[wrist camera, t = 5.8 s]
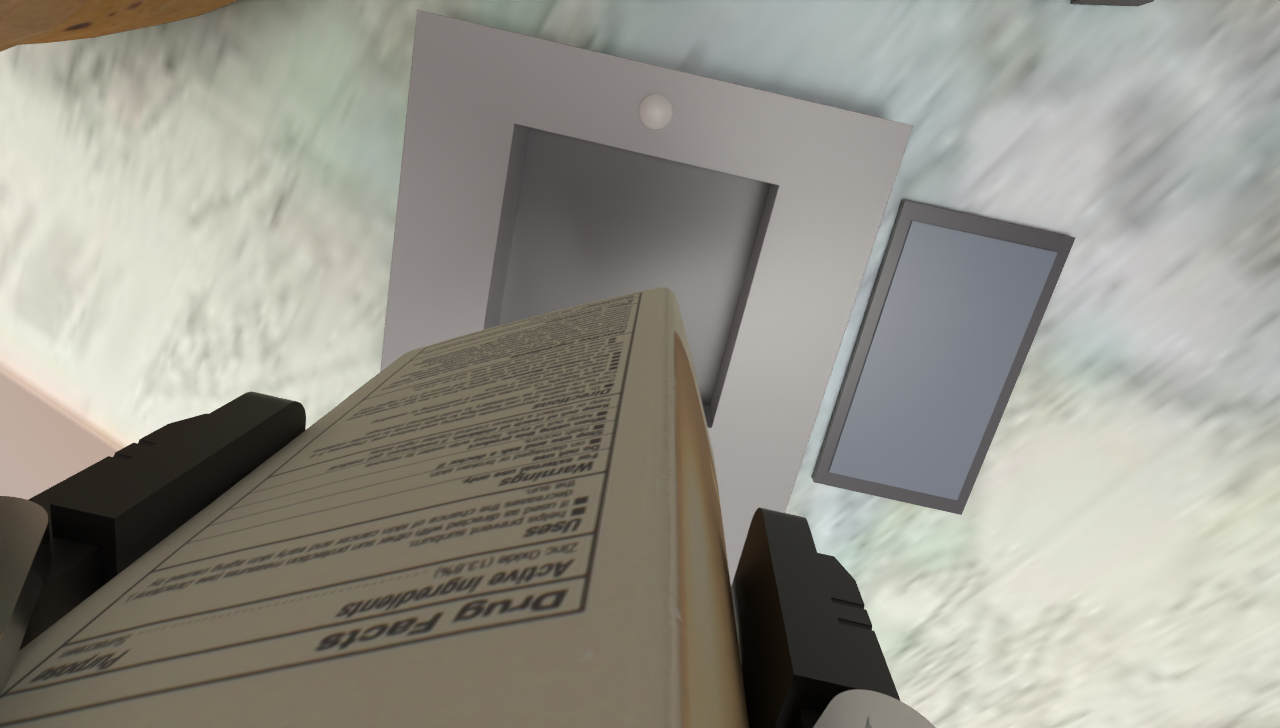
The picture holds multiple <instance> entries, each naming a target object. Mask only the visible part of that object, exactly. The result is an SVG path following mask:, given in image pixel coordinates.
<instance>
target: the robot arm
mask: <svg viewBox="0 0 1280 728" xmlns="http://www.w3.org/2000/svg"><path fill="white" fill-rule="evenodd" d="M305 426H306V414H305V409H304V407H303V405H302V404H301V403H299V402H296V401H291V400H287V399H282V398H278V397H274V396H269V395H265V394H260V393H256V392H248V393H245V394H243V395H242V396H240V397H238V398H236V399H234V400H233V401H231V402H229V403H227V404H226V405H224V406H222V407H220V408H219V409H217V410H215V411H213V412H211V413H210V414H203V415H199V416H196V417H192V418H188V419H185V420H181V421H177V422H174V423H170V424H167V425H166V426H164V427H162V428H160V429H158V430H156V431H154V432H153V433H151V434H149V435H147V436H145V437H143V438H142V439H140V440H139V443H138V444H137V443H132V444H130V445H129V446H127V447H125V448H123V449H121V450H119V451H117V452H116V453H115V455H114V457H109V456H108V457H106V458H105V459H103V460H101V461H99V462H97V463H95V464H94V465H92V466H90V467H88V468H86V469H84V470H83V471H81V472H79V473H77V474H75V475H73V476H71V477H69V478H68V479H66V480H64V481H62V482H60V483H58V484H57V485H55V486H53V487H51V488H49V489H47V490H46V491H44V492H42V493H40V494H38V495H36V496H34V497H32V498H31V499H29V500H25V499H21V498H16V497H7V496H0V695H1V693H2V692H3V690H4V688H5V686H6V684H7V683H8V680H9V677H10V674H11V671H12V668H13V666H14V663H15V660H16V657H17V655H18V652H19V650H21V649H22V648H23V647H25V646H26V645H27V644H29V643H30V642H31V641H33V640H34V639H35V638H37V637H38V636H39V635H40V634H42V633H43V632H44V631H46V630H47V629H48V628H50V627H51V626H52V625H53V624H55V623H56V622H57V621H58V620H60V619H61V618H62V617H64V616H65V615H66V614H67V613H69V612H70V611H71V610H73V609H74V608H75V607H76V606H78V605H79V604H80V603H81V602H83V601H84V600H85V599H87V598H88V597H89V596H91V595H92V594H93V593H94V592H96V591H97V590H98V589H100V588H101V587H102V586H104V585H105V584H106V583H108V582H109V581H110V580H111V579H113V578H114V577H115V576H117V575H118V574H119V573H121V572H122V571H123V570H125V569H126V568H127V567H128V566H130V565H131V564H132V563H134V562H135V561H136V560H138V559H139V558H140V557H141V556H143V555H144V554H145V553H147V552H148V551H149V550H151V549H152V548H153V547H155V546H156V545H157V544H158V543H160V542H161V541H162V540H164V539H165V538H166V537H168V536H169V535H170V534H171V533H173V532H174V531H175V530H177V529H178V528H179V527H181V526H182V525H183V524H185V523H186V522H187V521H189V520H190V519H191V518H192V517H194V516H195V515H196V514H198V513H199V512H200V511H202V510H203V509H204V508H206V507H207V506H208V505H210V504H211V503H212V502H213V501H215V500H216V499H217V498H219V497H220V496H221V495H222V494H224V493H225V492H226V491H227V490H229V489H230V488H231V487H233V486H234V485H235V484H236V483H238V482H239V481H240V480H242V479H243V478H244V477H246V476H247V475H248V474H250V473H251V472H252V471H253V470H255V469H256V468H257V467H258V466H260V465H261V464H262V463H264V462H265V461H266V460H267V459H269V458H270V457H271V456H273V455H274V454H275V453H277V452H278V451H279V450H281V449H282V448H283V447H285V446H286V445H287V444H288V443H290V442H291V441H292V440H293V439H295V438H296V437H297V436H299V435H300V434H301V433H303V432H304V431H305ZM731 591H732V599H733V607H734V614H735V621H736V629H737V636H738V644H739V651H740V659H741V667H742V674H743V682H744V690H745V697H746V705H747V712H748V720H749V727H750V728H935V727H934V726H933V725H932V724H931V723H930V722H929V721H928V720H927V719H926V718H925V717H923V716H922V715H921V714H920V713H918V712H917V711H916V710H914V709H913V708H911V707H910V706H908V705H906V704H905V703H903V702H901V701H900V698H899V696H898V693H897V690H896V688H895V685H894V682H893V680H892V677H891V674H890V672H889V669H888V666H887V664H886V661H885V658H884V656H883V653H882V650H881V648H880V645H879V642H878V640H877V637H876V634H875V632H874V631H872V624H871V621H870V618H869V616H868V613H867V610H864V603H863V600H862V597H861V595H860V592H859V589H858V587H857V584H856V581H855V580H854V579H853V577H852V576H851V575H850V574H849V573H848V572H847V571H846V569H845V568H844V567H843V566H842V565H841V564H840V563H839V562H838V560H837V559H836V558H835V557H833V556H829V555H825V554H820V553H817V551H816V548H815V544H814V541H813V538H812V535H811V531H810V528H809V525H808V522H807V520H806V518H804V517H800V516H795V515H791V514H786V513H782V512H778V511H773V510H769V509H764V508H760V507H759V508H758V509H757V510H756V511H755V513H754V515H753V518H752V521H751V524H750V527H749V530H748V534H747V537H746V540H745V543H744V547H743V550H742V553H741V556H740V560H739V563H738V566H737V570H736V573H735V576H734V579H733V583H732V586H731Z"/></svg>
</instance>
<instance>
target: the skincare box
mask: <svg viewBox="0 0 1280 728" xmlns="http://www.w3.org/2000/svg"><path fill="white" fill-rule="evenodd" d="M0 728H750V727H749V720H748V712H747V705H746V697H745V690H744V682H743V674H742V667H741V659H740V651H739V644H738V636H737V629H736V621H735V614H734V607H733V599H732V591H731V584H730V576H729V568H728V560H727V552H726V544H725V537H724V529H723V521H722V514H721V506H720V498H719V491H718V483H717V476H716V468H715V460H714V455H713V450H712V446H711V441H710V436H709V432H708V427H707V422H706V418H705V414H704V409H703V405H702V400H701V396H700V391H699V387H698V382H697V378H696V374H695V369H694V365H693V361H692V357H691V353H690V349H689V345H688V341H687V337H686V334H685V330H684V326H683V322H682V318H681V314H680V310H679V306H678V303H677V299H676V296H675V295H674V293H673V292H672V291H671V290H670V289H668V288H666V287H660V288H654V289H649V290H645V291H640V292H635V293H630V294H626V295H621V296H616V297H612V298H608V299H604V300H600V301H595V302H591V303H587V304H582V305H578V306H574V307H569V308H565V309H561V310H557V311H553V312H549V313H545V314H542V315H538V316H534V317H530V318H526V319H523V320H519V321H515V322H511V323H507V324H503V325H499V326H496V327H492V328H488V329H484V330H481V331H477V332H474V333H470V334H466V335H463V336H459V337H456V338H452V339H449V340H445V341H442V342H439V343H436V344H432V345H429V346H425V347H422V348H418V349H415V350H412V351H409V352H407V353H405V354H403V355H402V356H401V357H399V358H398V359H397V360H396V361H394V362H393V363H392V364H390V365H389V366H388V367H387V368H385V369H384V370H383V371H381V372H380V373H379V374H378V375H376V376H375V377H374V378H372V379H371V380H370V381H368V382H367V383H366V384H364V385H363V386H362V387H361V388H359V389H358V390H357V391H355V392H354V393H353V394H352V395H350V396H349V397H348V398H347V399H345V400H344V401H343V402H342V403H340V404H339V405H338V406H336V407H335V408H334V409H333V410H331V411H330V412H329V413H327V414H326V415H325V416H324V417H322V418H321V419H320V420H318V421H317V422H316V423H314V424H313V425H312V426H310V427H309V428H308V429H307V430H305V431H304V432H303V433H301V434H300V435H299V436H297V437H296V438H295V439H293V440H292V441H291V442H290V443H288V444H287V445H286V446H285V447H283V448H282V449H281V450H279V451H278V452H277V453H275V454H274V455H273V456H271V457H270V458H269V459H267V460H266V461H265V462H264V463H262V464H261V465H260V466H258V467H257V468H256V469H255V470H253V471H252V472H251V473H250V474H248V475H247V476H246V477H244V478H243V479H242V480H240V481H239V482H238V483H236V484H235V485H234V486H233V487H231V488H230V489H229V490H227V491H226V492H225V493H224V494H222V495H221V496H220V497H219V498H217V499H216V500H215V501H213V502H212V503H211V504H210V505H208V506H207V507H206V508H204V509H203V510H202V511H200V512H199V513H198V514H196V515H195V516H194V517H192V518H191V519H190V520H189V521H187V522H186V523H185V524H183V525H182V526H181V527H179V528H178V529H177V530H175V531H174V532H173V533H171V534H170V535H169V536H168V537H166V538H165V539H164V540H162V541H161V542H160V543H158V544H157V545H156V546H155V547H153V548H152V549H151V550H149V551H148V552H147V553H145V554H144V555H143V556H141V557H140V558H139V559H138V560H136V561H135V562H134V563H132V564H131V565H130V566H128V567H127V568H126V569H125V570H123V571H122V572H121V573H119V574H118V575H117V576H115V577H114V578H113V579H111V580H110V581H109V582H108V583H106V584H105V585H104V586H102V587H101V588H100V589H98V590H97V591H96V592H94V593H93V594H92V595H91V596H89V597H88V598H87V599H85V600H84V601H83V602H81V603H80V604H79V605H78V606H76V607H75V608H74V609H73V610H71V611H70V612H69V613H67V614H66V615H65V616H64V617H62V618H61V619H60V620H58V621H57V622H56V623H55V624H53V625H52V626H51V627H50V628H48V629H47V630H46V631H44V632H43V633H42V634H40V635H39V636H38V637H37V638H35V639H34V640H33V641H31V642H30V643H29V644H27V645H26V646H25V647H23V648H22V649H21V650H19V652H18V655H17V657H16V660H15V663H14V666H13V668H12V671H11V674H10V677H9V680H8V683H7V684H6V686H5V688H4V690H3V692H2V693H1V695H0Z"/></svg>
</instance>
